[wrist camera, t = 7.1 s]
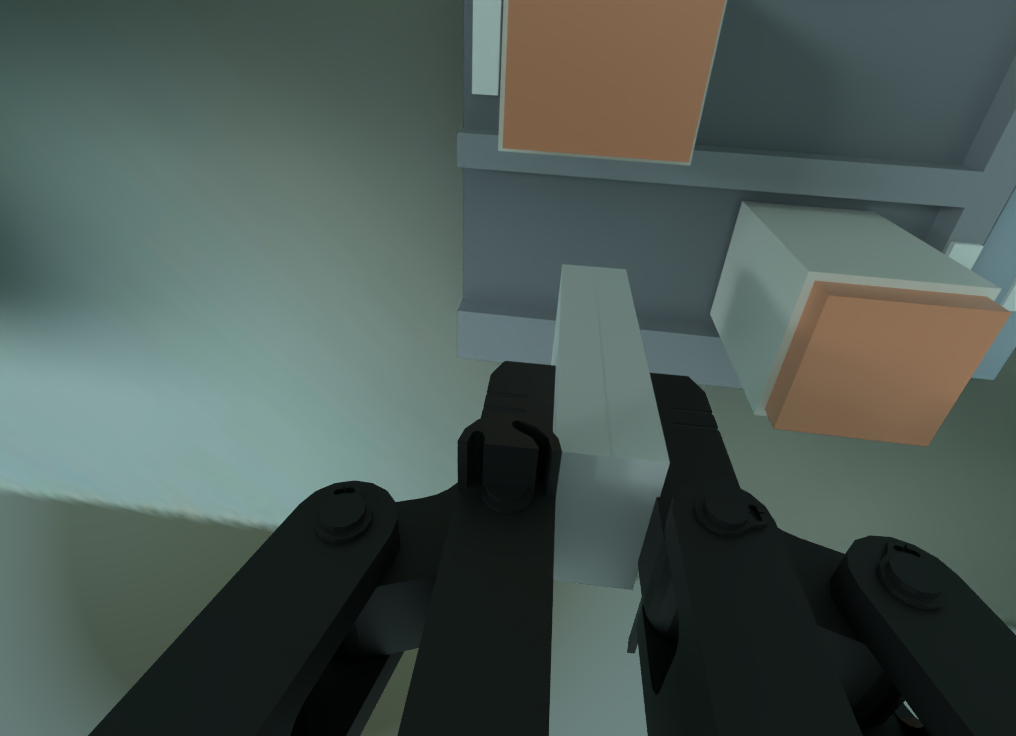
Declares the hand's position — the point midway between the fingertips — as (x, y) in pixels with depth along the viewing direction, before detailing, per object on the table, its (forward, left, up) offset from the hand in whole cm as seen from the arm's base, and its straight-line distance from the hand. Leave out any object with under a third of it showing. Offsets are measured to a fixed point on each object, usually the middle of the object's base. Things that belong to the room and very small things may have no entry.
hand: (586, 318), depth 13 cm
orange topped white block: (+7, 0, -6) cm, 9 cm away
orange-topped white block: (0, +6, -6) cm, 8 cm away
